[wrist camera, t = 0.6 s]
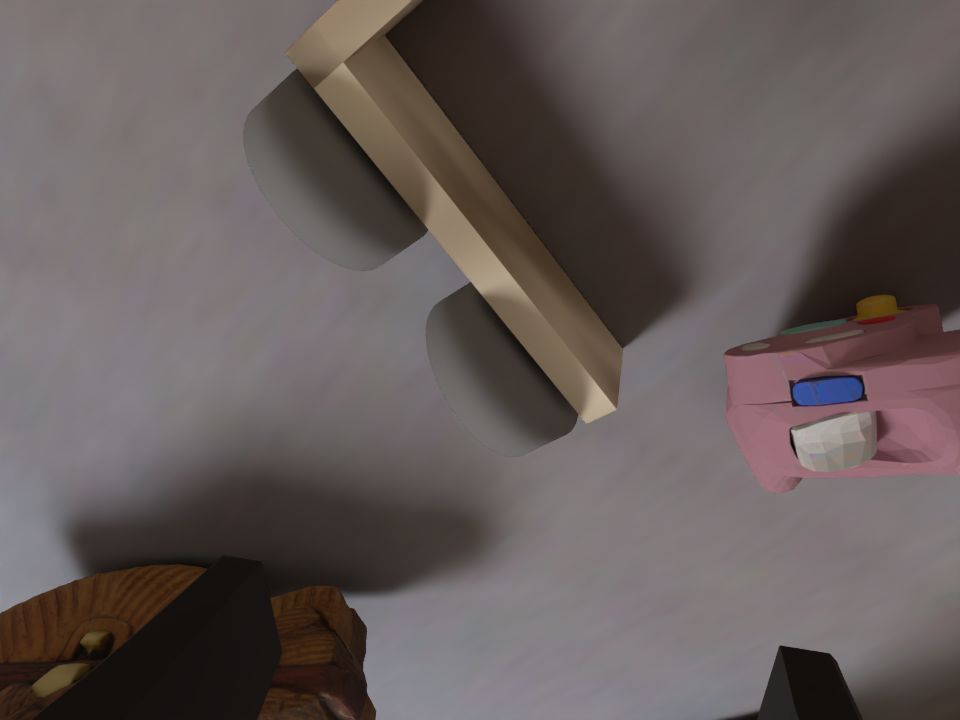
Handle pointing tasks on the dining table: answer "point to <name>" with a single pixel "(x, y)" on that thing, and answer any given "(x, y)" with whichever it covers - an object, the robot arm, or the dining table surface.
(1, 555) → the dining table surface
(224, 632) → the robot arm
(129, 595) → the wooden carving
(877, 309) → the pink toy figure
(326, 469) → the dining table surface
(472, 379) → the chassis
